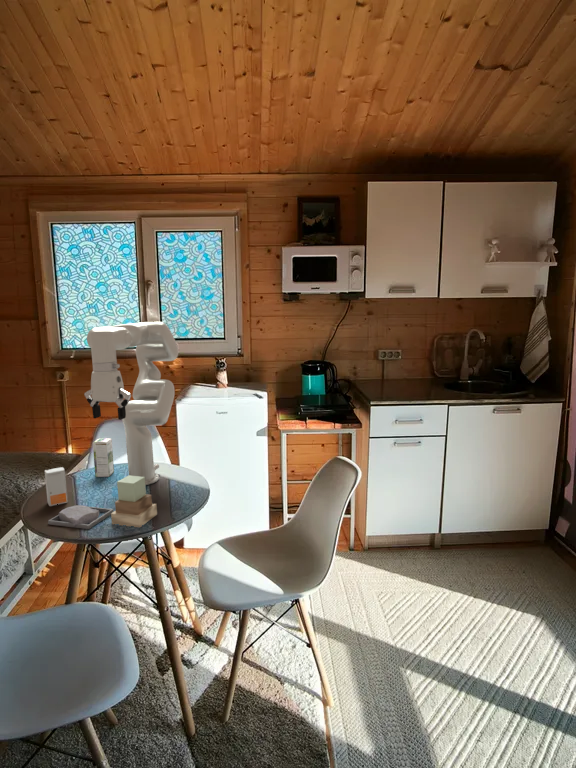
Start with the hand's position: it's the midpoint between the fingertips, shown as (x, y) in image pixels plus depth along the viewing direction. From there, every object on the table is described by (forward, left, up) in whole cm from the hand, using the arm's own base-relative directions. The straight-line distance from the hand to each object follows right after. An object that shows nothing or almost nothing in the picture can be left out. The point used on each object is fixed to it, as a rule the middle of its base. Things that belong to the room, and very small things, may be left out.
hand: (109, 418), depth 170 cm
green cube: (+9, +13, -23) cm, 28 cm away
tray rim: (+13, -4, -30) cm, 33 cm away
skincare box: (+4, -21, -31) cm, 37 cm away
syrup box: (-25, -23, -30) cm, 46 cm away
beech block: (+9, +13, -31) cm, 35 cm away
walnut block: (+10, +13, -27) cm, 31 cm away
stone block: (+13, -4, -31) cm, 34 cm away
